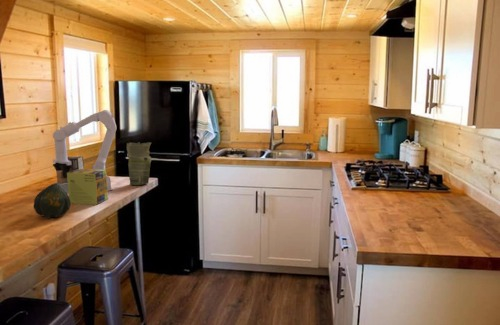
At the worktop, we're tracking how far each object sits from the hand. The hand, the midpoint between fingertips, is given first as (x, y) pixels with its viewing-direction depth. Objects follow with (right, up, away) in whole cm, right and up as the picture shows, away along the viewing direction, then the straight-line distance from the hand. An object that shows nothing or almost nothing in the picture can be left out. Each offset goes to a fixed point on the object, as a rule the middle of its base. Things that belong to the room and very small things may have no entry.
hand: (63, 177), depth 221 cm
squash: (+14, -16, -39) cm, 44 cm away
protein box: (+20, -12, -16) cm, 29 cm away
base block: (0, -8, +2) cm, 9 cm away
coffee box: (-2, -5, +20) cm, 20 cm away
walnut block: (0, -3, 0) cm, 3 cm away
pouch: (+36, -5, +21) cm, 42 cm away
